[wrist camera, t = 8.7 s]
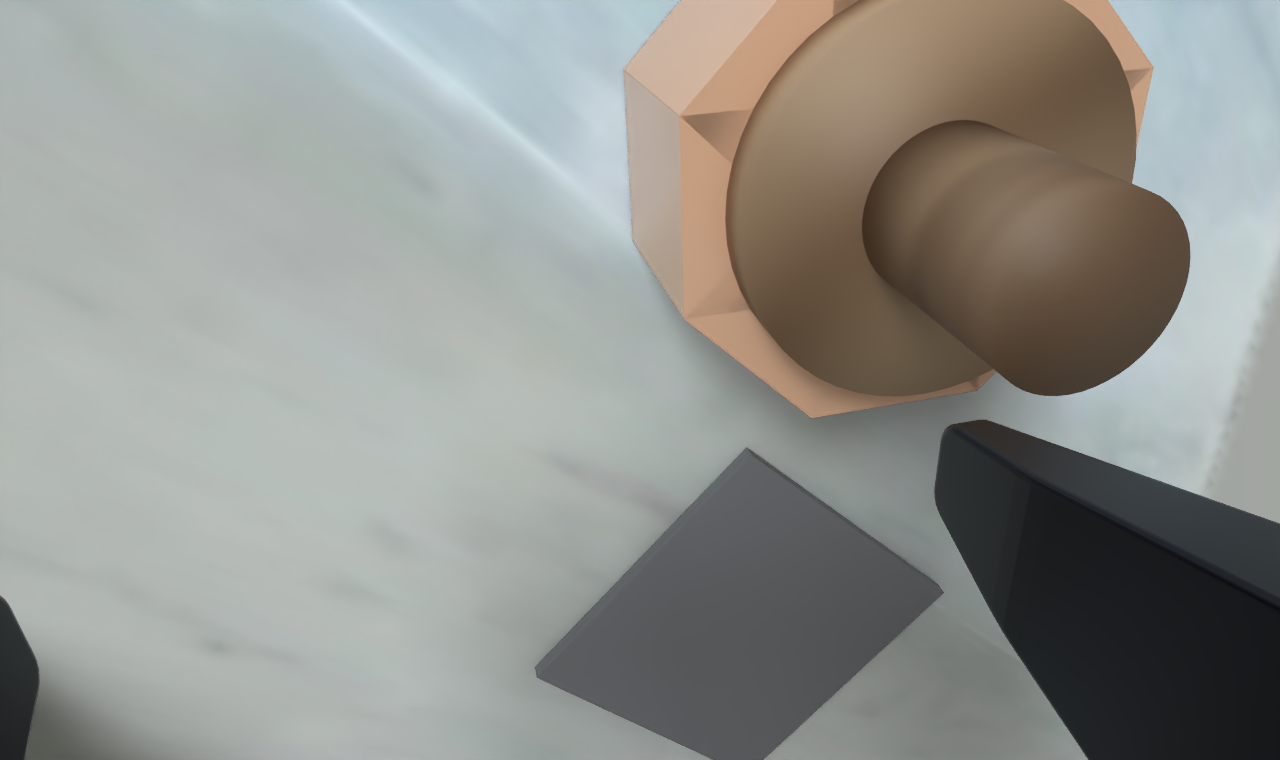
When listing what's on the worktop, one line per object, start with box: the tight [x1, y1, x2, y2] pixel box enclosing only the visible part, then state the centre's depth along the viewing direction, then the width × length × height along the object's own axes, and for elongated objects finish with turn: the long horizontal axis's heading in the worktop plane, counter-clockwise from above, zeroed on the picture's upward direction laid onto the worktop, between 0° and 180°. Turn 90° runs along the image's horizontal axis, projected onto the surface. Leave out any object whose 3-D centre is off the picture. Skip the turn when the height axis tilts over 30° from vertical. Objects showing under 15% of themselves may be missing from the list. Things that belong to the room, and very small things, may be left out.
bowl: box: [624, 0, 1153, 418], centre depth 19 cm, size 9×9×4 cm
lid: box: [725, 0, 1190, 396], centre depth 15 cm, size 8×8×5 cm
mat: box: [535, 448, 944, 760], centre depth 28 cm, size 9×9×1 cm
